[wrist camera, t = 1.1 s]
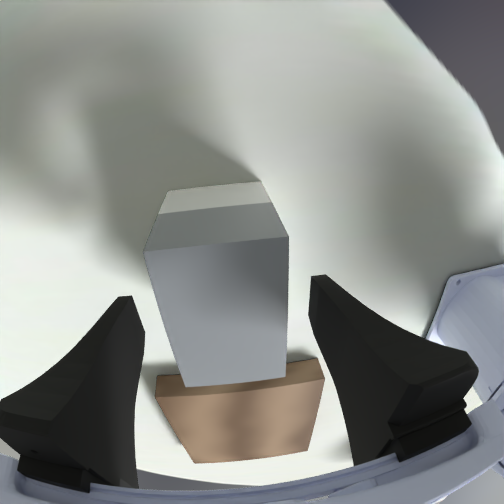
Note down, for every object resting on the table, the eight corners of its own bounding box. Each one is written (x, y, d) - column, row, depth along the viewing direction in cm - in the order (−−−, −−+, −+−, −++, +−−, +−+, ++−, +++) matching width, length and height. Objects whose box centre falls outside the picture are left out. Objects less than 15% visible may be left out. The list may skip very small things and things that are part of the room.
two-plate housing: (260, 180, 14) (288, 236, 9) (265, 296, 18) (285, 376, 13) (168, 190, 14) (143, 251, 9) (189, 304, 18) (185, 387, 12)
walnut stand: (317, 358, 21) (324, 378, 20) (303, 435, 28) (307, 450, 27) (157, 375, 21) (154, 397, 19) (194, 447, 28) (194, 463, 26)
